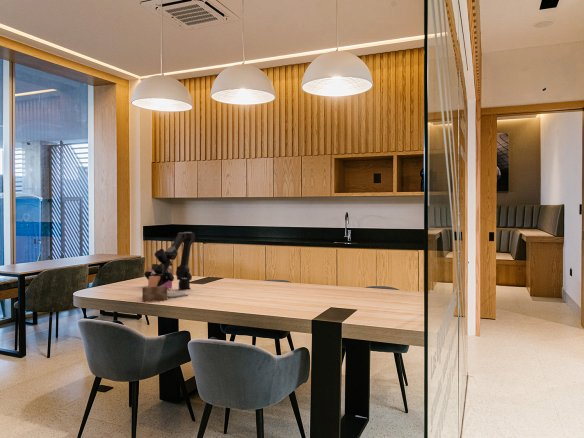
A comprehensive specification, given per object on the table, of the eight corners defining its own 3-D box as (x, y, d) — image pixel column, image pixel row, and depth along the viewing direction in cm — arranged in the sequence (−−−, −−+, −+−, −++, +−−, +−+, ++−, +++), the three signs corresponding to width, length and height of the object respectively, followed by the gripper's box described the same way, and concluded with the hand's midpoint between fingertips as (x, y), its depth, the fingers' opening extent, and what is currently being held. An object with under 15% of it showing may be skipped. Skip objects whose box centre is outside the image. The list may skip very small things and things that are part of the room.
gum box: (146, 285, 323) (146, 266, 323) (157, 284, 328) (157, 265, 328) (161, 289, 305) (161, 269, 305) (172, 288, 310) (172, 268, 310)
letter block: (153, 296, 280) (153, 275, 280) (160, 297, 279) (160, 276, 278) (148, 298, 275) (148, 276, 275) (155, 298, 274) (155, 277, 274)
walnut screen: (167, 298, 273) (166, 285, 273) (167, 300, 268) (167, 286, 268) (142, 300, 269) (142, 286, 269) (142, 301, 264) (142, 288, 264)
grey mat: (179, 293, 291) (179, 291, 291) (187, 295, 282) (187, 294, 282) (161, 295, 284) (161, 293, 284) (169, 298, 275) (169, 296, 275)
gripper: (145, 258, 283) (134, 278, 273) (171, 259, 278) (160, 279, 267) (153, 269, 291) (142, 289, 281) (178, 270, 285) (168, 290, 275)
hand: (153, 287), depth 276 cm, fingers closed on letter block, 5 cm apart
